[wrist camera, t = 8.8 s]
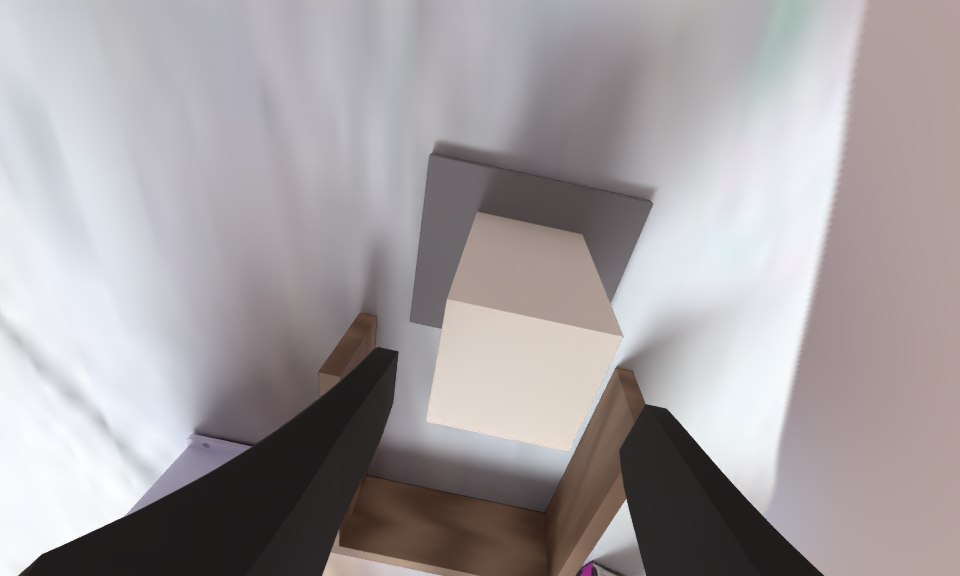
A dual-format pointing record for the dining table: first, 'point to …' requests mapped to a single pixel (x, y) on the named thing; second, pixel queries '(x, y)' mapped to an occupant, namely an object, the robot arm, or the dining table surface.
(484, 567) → the walnut u-shaped frame
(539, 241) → the cream block
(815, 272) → the dining table surface
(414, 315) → the charcoal mat
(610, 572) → the candy bar box
